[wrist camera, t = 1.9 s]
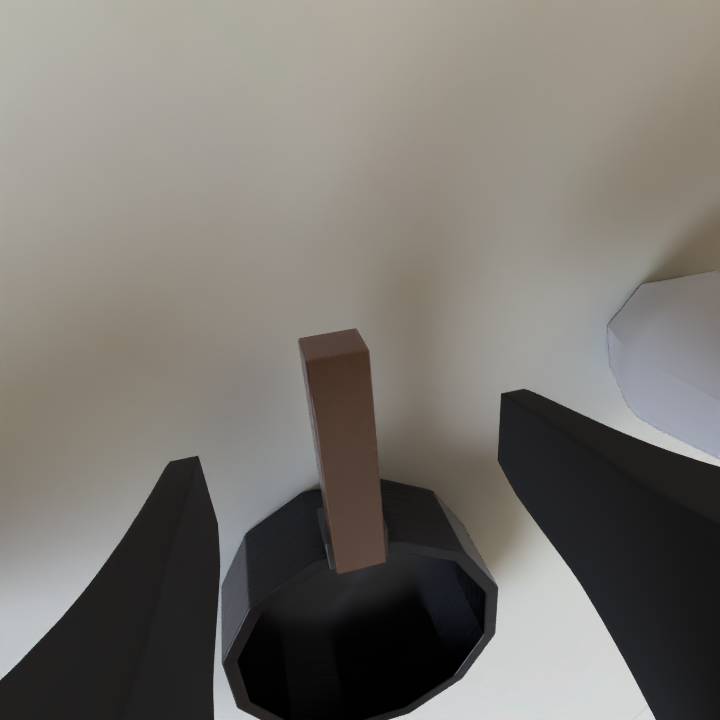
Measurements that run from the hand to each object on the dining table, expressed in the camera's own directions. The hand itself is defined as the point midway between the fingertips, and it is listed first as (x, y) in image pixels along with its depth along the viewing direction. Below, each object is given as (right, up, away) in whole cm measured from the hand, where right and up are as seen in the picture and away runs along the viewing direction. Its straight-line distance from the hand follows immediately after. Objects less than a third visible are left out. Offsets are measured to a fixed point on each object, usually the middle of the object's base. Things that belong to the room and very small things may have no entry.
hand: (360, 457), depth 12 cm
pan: (-1, -4, +8) cm, 9 cm away
